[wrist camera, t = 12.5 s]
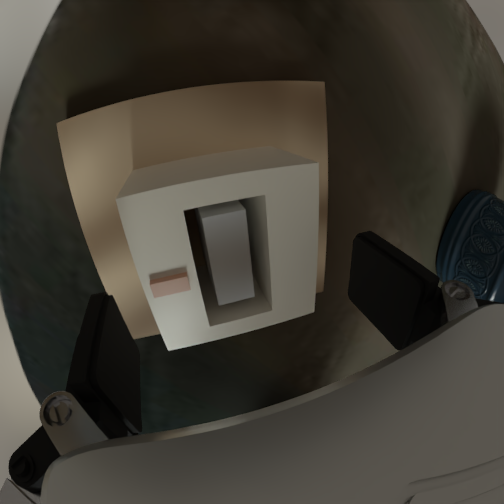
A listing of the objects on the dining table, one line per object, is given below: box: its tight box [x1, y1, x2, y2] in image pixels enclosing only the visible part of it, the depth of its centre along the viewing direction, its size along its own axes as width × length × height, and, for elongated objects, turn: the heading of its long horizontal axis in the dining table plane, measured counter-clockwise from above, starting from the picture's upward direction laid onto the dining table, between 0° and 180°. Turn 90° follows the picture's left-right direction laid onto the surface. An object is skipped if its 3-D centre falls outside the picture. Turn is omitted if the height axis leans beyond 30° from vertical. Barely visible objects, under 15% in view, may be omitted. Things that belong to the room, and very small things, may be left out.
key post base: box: [57, 81, 328, 339], centre depth 13 cm, size 14×14×6 cm
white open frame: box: [116, 146, 319, 351], centre depth 12 cm, size 7×7×5 cm
